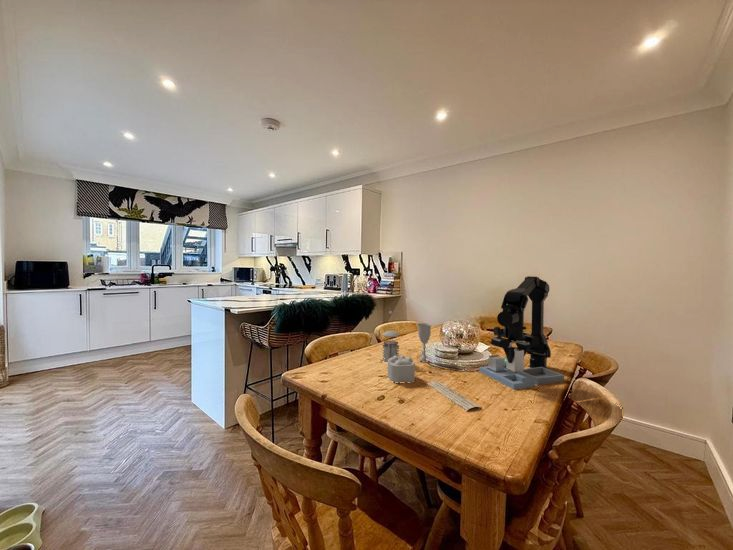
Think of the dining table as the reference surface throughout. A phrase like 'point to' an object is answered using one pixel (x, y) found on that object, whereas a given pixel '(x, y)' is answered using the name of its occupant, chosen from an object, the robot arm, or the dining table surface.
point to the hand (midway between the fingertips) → (514, 362)
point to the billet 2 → (516, 361)
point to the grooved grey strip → (453, 395)
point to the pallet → (508, 378)
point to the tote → (542, 375)
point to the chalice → (424, 336)
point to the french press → (390, 345)
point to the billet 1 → (496, 363)
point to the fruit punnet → (401, 369)
